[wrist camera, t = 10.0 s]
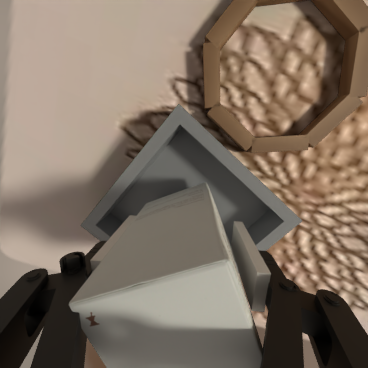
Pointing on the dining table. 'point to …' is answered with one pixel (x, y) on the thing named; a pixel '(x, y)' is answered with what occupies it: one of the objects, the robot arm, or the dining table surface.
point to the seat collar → (349, 80)
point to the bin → (193, 184)
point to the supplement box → (170, 292)
